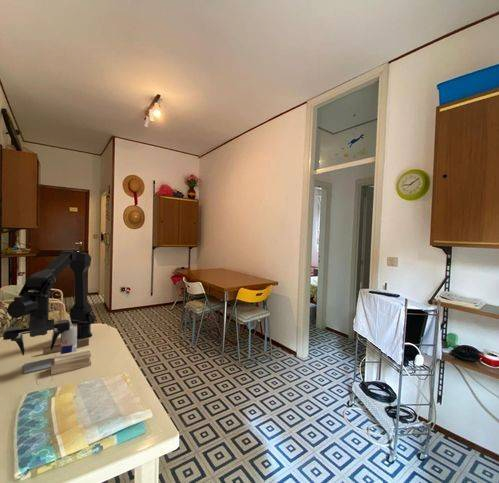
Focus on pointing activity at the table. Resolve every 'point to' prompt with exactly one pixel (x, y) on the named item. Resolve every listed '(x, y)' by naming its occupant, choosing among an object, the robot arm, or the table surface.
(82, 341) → the walnut back board
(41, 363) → the slate pad
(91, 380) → the table surface
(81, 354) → the offcut stack
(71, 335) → the energy drink
